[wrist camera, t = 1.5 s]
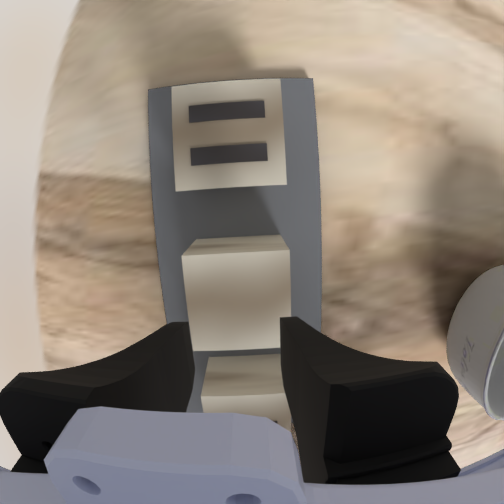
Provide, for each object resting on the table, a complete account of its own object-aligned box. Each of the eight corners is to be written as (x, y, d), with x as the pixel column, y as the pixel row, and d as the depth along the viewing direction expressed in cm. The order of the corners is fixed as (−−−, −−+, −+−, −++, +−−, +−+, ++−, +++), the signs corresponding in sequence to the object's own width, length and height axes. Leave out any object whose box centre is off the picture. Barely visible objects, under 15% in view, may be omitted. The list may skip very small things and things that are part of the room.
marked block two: (277, 184, 19) (287, 184, 14) (192, 189, 19) (175, 191, 14) (272, 101, 18) (280, 78, 13) (188, 107, 18) (171, 86, 13)
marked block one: (284, 409, 22) (290, 452, 18) (216, 412, 22) (211, 455, 18) (283, 353, 21) (291, 393, 17) (208, 356, 21) (200, 397, 17)
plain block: (282, 313, 20) (291, 346, 16) (203, 316, 20) (193, 351, 16) (280, 234, 19) (289, 250, 15) (196, 239, 19) (181, 255, 15)
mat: (314, 414, 23) (315, 420, 22) (188, 419, 23) (187, 426, 22) (310, 82, 18) (312, 78, 17) (151, 92, 18) (148, 89, 17)
